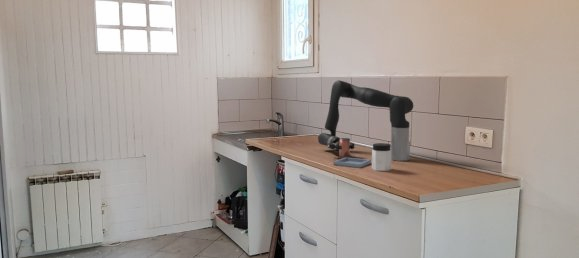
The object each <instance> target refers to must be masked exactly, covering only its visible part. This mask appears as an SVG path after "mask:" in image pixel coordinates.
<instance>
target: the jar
mask: <svg viewBox="0 0 579 258" xmlns="http://www.w3.org/2000/svg"><path fill="white" fill-rule="evenodd" d="M371 170H374V171H376V172H388V171H391V170H392V159H391V143H385V142H384V143H382V142H380V143H379V142H378V143H376V142H375V143H373V145H372V149H371Z"/></svg>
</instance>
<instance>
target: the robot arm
mask: <svg viewBox="0 0 579 258" xmlns="http://www.w3.org/2000/svg"><path fill="white" fill-rule="evenodd" d="M341 98H345V99H346V98H347V99H353V100H357V101H358V102H360V103H362V104H364V105H367V106H370V107H371V106H372V107H377V108H378V107H379V108H389V122H390V124H391V130H390V145H391V147H390V150H391V161H400V162H402V161H403V162H406V161H407V162H408V161H409V160H410V158H411V156H410V155H411V141H410V121H408V120H407V119H406V115H407V114H409V113H410V112H412V111H413V109H414V102H413V101H412V99H411V98H410V97H407V96H402V95H401V96H400V95H395V94H391V93H388V92H384V91H381V90H378V89H374V88H370V87H364V86H363V87H360V86H357V85H354V84H352V83H349V82H347V81H344V80H339V79H338V80H335V81H334V82H333V84H332V86H331V91H330V101H329V108H328V113H327V116H326V120H325V124H324V129H325V130H327V131H329V132H330V133H325V132H321V133H319V134H318V137H317V141H318V144H320V145H322V146H326V147H327V148H328V149H330V150H334V151H336V152H339V150H340V146H339V138H340V137H338V136H337V135H336V134H337V128H338V124H339V119H340V111H339V102H340V99H341ZM354 149H355V143H354V142H351V141H350V150H354Z"/></svg>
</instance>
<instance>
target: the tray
mask: <svg viewBox="0 0 579 258" xmlns="http://www.w3.org/2000/svg"><path fill="white" fill-rule="evenodd" d="M370 164H372V159H366V158H356V157H355V158H354V157H350V158H347V157H345V158H342V159H337V160H335V161H333V166H338V167H339V166H341V167H347V168H357V169H361V168H363V167H365V166H367V165H370Z"/></svg>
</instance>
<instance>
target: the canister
mask: <svg viewBox="0 0 579 258" xmlns="http://www.w3.org/2000/svg"><path fill="white" fill-rule="evenodd" d="M350 142H351V138H348V137H339V146H340V150H339V151H338V158H339V159H342V158H345V157H347V158H351V157H350V156H351V149H350ZM339 159H338V160H339Z"/></svg>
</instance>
